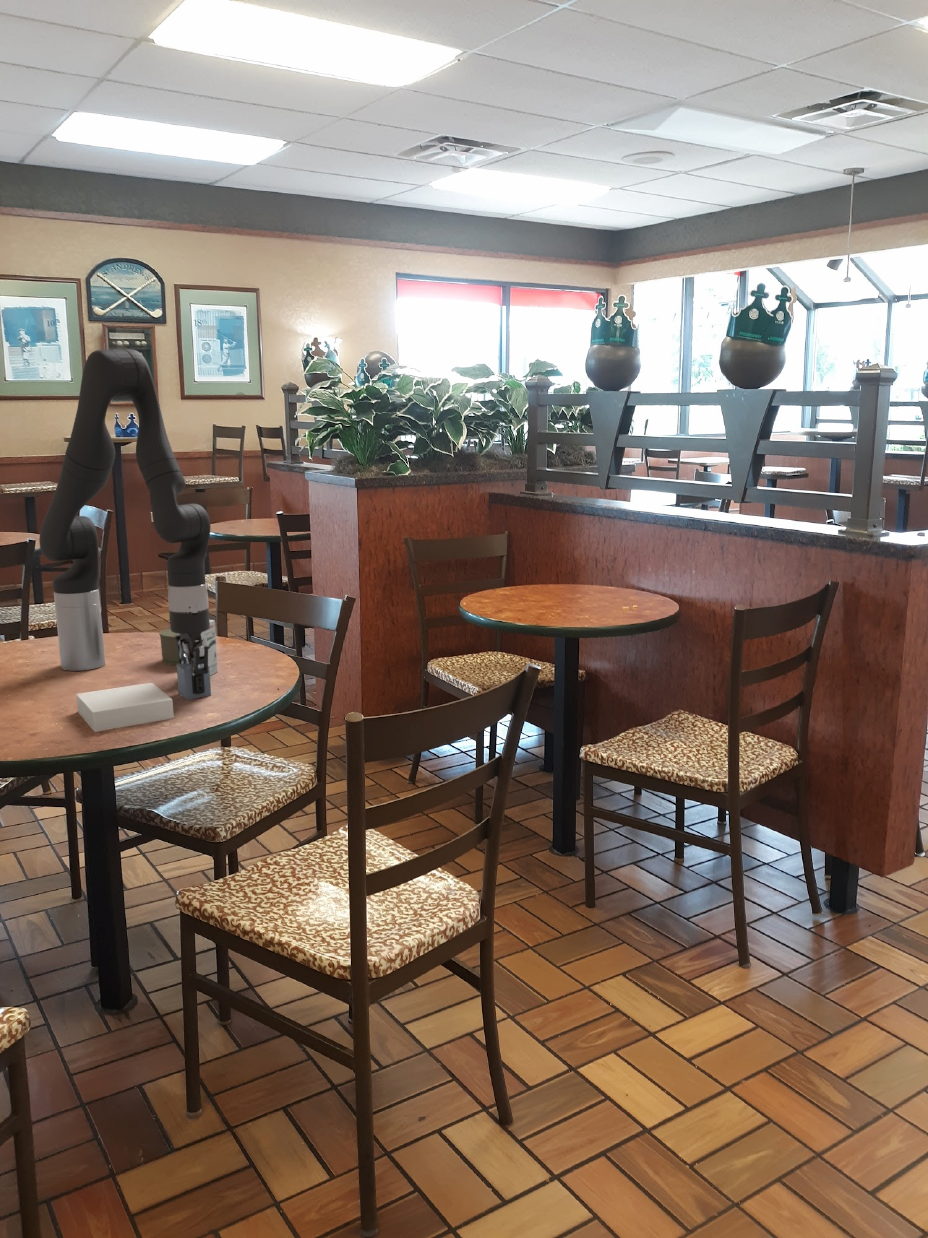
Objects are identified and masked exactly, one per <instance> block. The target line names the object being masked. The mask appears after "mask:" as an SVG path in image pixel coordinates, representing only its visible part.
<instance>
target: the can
mask: <svg viewBox="0 0 928 1238" xmlns="http://www.w3.org/2000/svg"><path fill="white" fill-rule="evenodd" d="M158 634H159V636H160V637H159V638H160V645H161V657H162V659H161V660H162V661H161V662H162V664H164V665H167V666H171V667H177V665H178V664H179V662H178V653H177V646H176V639H175V636H176V635H177V633H174V632H172V631H171V629H170V627H167V628H165V629H162V630H161V631H159V633H158Z"/></svg>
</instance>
